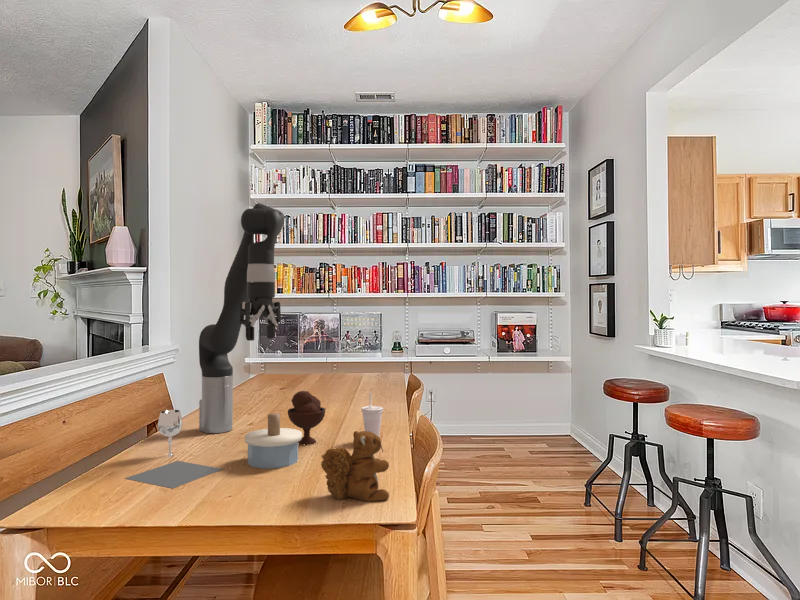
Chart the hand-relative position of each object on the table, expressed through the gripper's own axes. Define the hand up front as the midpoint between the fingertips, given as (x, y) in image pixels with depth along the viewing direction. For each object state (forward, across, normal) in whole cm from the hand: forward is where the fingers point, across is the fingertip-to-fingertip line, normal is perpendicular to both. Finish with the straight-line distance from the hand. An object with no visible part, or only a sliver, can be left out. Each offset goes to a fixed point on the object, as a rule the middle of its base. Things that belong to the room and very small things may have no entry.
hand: (260, 339), depth 150 cm
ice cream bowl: (+30, -10, +8) cm, 33 cm away
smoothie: (+30, -21, +24) cm, 44 cm away
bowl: (+30, +10, +12) cm, 34 cm away
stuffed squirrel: (+30, +19, +42) cm, 55 cm away
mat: (+30, +28, -2) cm, 41 cm away
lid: (+24, +9, +12) cm, 29 cm away
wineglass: (+30, +18, -15) cm, 38 cm away
